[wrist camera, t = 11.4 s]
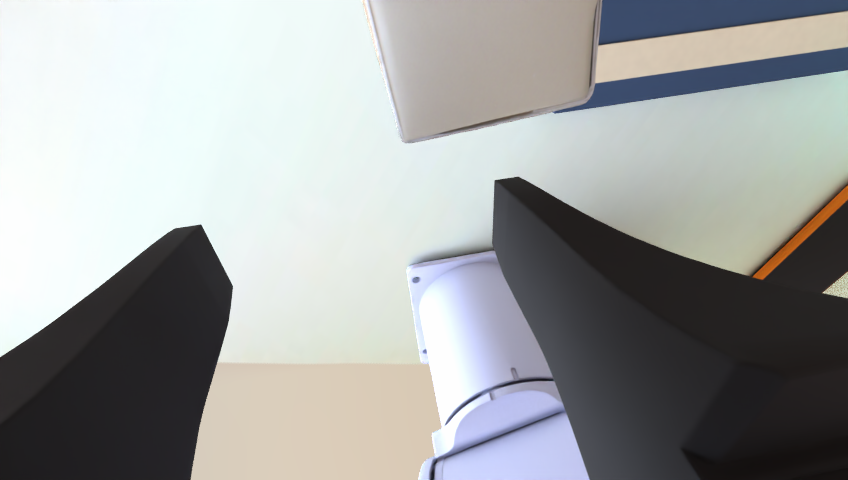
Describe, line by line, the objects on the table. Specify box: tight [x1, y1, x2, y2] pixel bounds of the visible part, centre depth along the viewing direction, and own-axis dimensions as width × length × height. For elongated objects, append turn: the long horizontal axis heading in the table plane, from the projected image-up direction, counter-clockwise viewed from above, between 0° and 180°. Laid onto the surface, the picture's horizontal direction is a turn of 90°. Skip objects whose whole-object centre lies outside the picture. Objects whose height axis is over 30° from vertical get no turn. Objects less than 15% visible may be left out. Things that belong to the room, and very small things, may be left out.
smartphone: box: [753, 185, 848, 293], centre depth 31 cm, size 8×17×1 cm, turn 159°
